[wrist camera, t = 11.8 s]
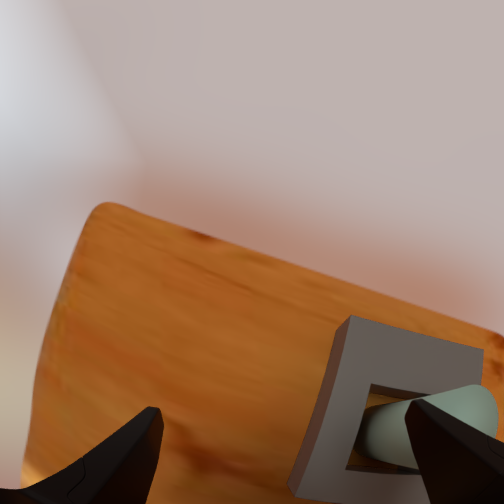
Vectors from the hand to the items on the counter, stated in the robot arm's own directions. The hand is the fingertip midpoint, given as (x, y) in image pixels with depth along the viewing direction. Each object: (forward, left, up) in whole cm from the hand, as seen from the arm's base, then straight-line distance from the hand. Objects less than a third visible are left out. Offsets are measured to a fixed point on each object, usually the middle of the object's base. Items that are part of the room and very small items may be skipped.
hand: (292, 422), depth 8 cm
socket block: (+2, -10, -14) cm, 17 cm away
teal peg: (+1, -9, -14) cm, 17 cm away
